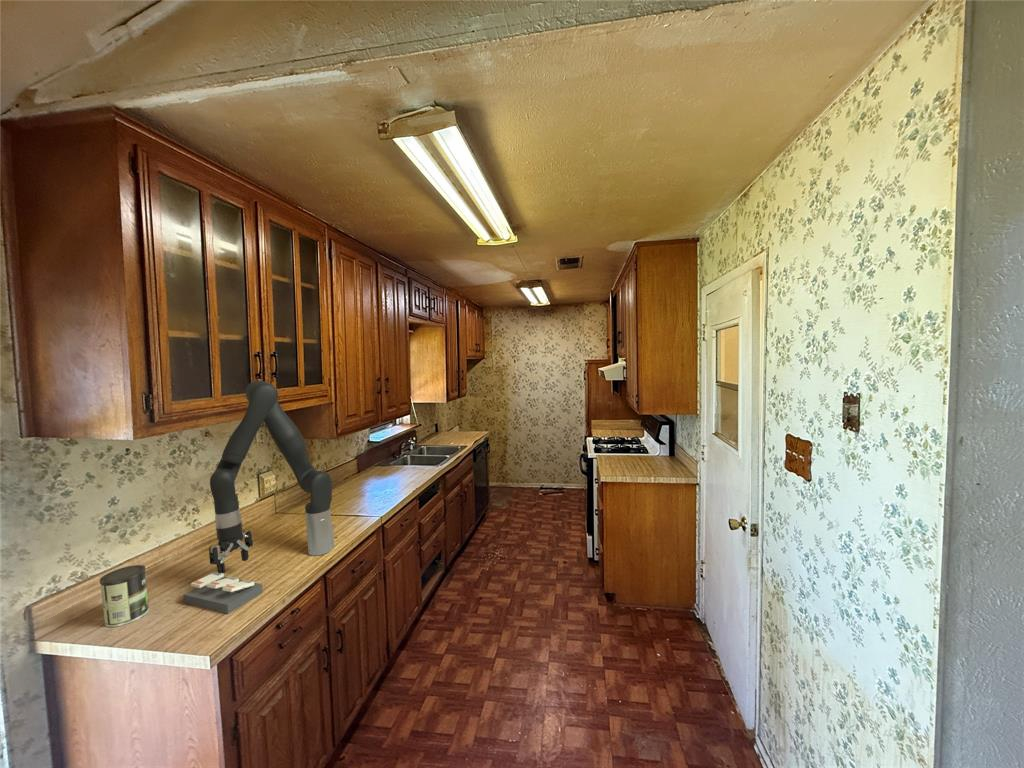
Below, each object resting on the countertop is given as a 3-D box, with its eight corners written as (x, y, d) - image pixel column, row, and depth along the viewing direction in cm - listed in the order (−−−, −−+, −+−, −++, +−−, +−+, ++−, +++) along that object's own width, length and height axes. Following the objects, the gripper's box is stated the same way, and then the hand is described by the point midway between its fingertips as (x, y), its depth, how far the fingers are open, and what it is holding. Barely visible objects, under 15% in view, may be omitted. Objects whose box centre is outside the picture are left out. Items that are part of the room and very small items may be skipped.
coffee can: (146, 602, 135) (142, 561, 134) (151, 615, 128) (147, 571, 127) (102, 618, 127) (98, 574, 126) (105, 632, 120) (100, 586, 119)
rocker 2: (229, 580, 141) (230, 576, 141) (239, 582, 139) (239, 578, 139) (205, 587, 133) (206, 582, 133) (215, 589, 132) (216, 585, 132)
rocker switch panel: (220, 583, 145) (219, 575, 145) (262, 592, 139) (262, 584, 139) (183, 603, 134) (183, 594, 134) (228, 614, 128) (227, 604, 127)
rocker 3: (244, 583, 138) (245, 579, 139) (254, 585, 137) (255, 581, 137) (221, 590, 131) (222, 586, 131) (231, 592, 129) (232, 588, 130)
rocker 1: (215, 575, 143) (214, 571, 143) (224, 577, 141) (224, 573, 141) (190, 586, 135) (190, 582, 135) (200, 588, 134) (200, 584, 134)
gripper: (240, 514, 153) (244, 555, 155) (200, 530, 140) (206, 576, 141) (254, 515, 151) (259, 557, 152) (216, 532, 137) (221, 578, 139)
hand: (233, 566), depth 147 cm, fingers open, 8 cm apart
